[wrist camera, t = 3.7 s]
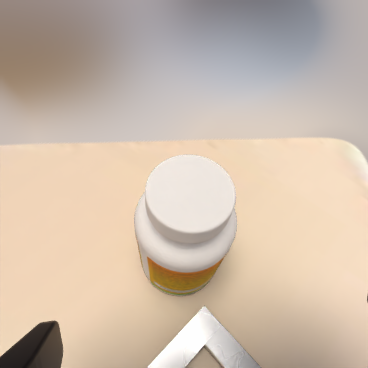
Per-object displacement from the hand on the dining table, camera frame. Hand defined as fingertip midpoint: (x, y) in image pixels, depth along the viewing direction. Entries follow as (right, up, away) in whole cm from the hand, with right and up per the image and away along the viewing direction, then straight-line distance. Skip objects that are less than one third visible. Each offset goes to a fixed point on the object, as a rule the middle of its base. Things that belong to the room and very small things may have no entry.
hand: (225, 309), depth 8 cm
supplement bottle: (-2, -2, +13) cm, 13 cm away
